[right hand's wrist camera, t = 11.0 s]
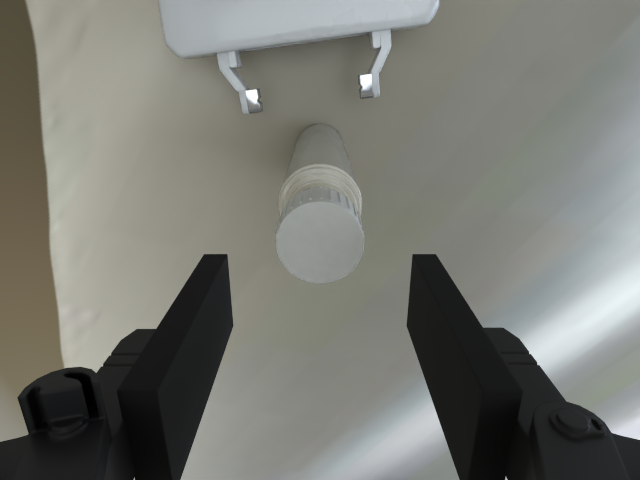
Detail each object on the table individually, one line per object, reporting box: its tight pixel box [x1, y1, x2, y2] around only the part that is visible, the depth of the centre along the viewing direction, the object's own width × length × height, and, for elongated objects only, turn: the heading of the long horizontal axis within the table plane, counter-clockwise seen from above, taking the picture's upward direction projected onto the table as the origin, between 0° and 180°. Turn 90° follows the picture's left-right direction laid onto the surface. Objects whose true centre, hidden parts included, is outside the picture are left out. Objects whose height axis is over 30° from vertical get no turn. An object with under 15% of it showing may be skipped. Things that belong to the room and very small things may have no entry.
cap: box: [275, 187, 364, 284], centre depth 20 cm, size 4×4×2 cm
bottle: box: [278, 124, 362, 216], centre depth 31 cm, size 5×5×25 cm
